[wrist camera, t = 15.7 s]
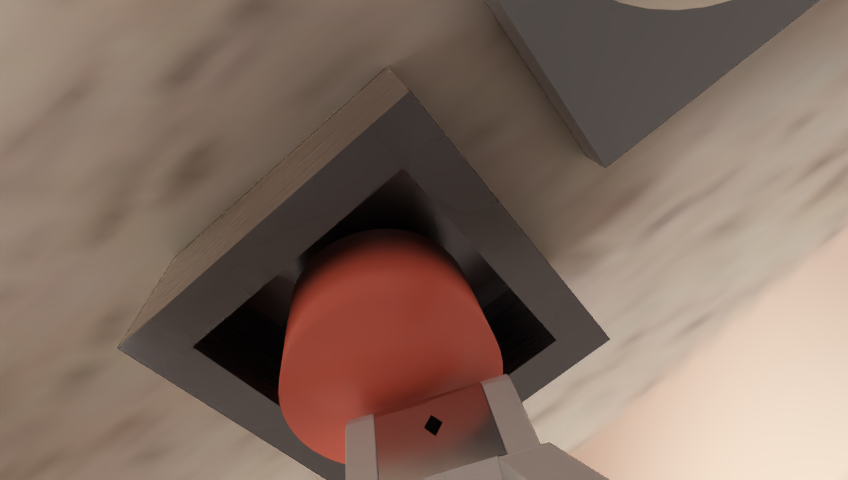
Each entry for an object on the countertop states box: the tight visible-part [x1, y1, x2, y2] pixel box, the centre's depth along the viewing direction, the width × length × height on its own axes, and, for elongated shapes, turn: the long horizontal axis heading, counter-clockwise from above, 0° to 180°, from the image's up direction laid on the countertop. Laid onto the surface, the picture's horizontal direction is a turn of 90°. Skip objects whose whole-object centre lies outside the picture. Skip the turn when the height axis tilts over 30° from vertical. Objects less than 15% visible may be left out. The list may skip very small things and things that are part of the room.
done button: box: [278, 229, 503, 464], centre depth 10 cm, size 4×4×2 cm
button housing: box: [118, 66, 610, 480], centre depth 11 cm, size 7×7×4 cm
